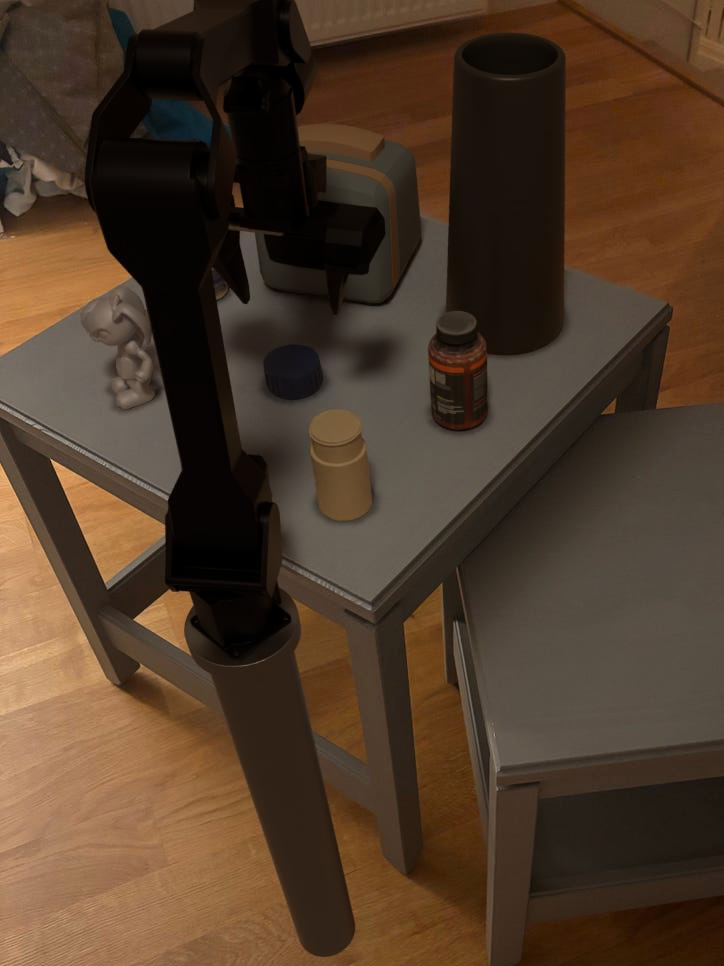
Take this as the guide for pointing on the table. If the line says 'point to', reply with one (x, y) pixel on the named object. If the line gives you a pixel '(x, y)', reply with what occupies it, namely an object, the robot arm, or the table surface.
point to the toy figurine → (123, 342)
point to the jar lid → (293, 371)
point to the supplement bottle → (458, 372)
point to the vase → (508, 190)
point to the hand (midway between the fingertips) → (291, 307)
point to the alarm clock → (357, 181)
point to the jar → (340, 465)
